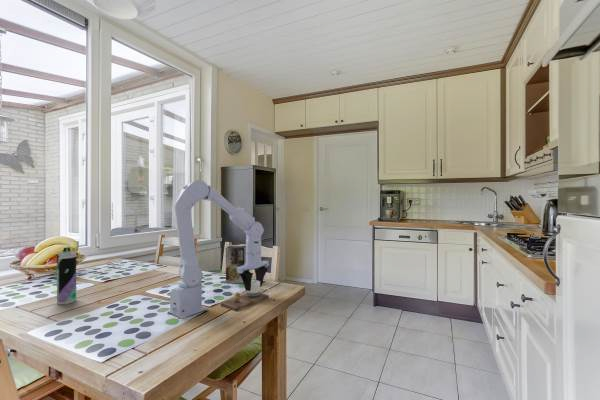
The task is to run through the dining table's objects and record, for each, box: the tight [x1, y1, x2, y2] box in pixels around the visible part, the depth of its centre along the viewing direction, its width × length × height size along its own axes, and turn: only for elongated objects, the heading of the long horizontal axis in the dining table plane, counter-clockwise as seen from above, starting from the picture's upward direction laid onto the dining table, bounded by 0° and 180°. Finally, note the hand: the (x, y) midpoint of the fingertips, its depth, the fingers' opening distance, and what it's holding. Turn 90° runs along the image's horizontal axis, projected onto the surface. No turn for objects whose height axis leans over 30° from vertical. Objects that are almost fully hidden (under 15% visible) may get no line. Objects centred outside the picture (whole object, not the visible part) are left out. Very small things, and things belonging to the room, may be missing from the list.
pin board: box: [220, 292, 270, 312], centre depth 102 cm, size 16×8×4 cm, turn 143°
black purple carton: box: [56, 247, 77, 305], centre depth 102 cm, size 6×6×20 cm
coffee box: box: [225, 245, 246, 284], centre depth 128 cm, size 9×6×16 cm
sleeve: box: [246, 279, 261, 296], centre depth 106 cm, size 5×5×4 cm
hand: (253, 288), depth 106 cm, fingers open, 5 cm apart
